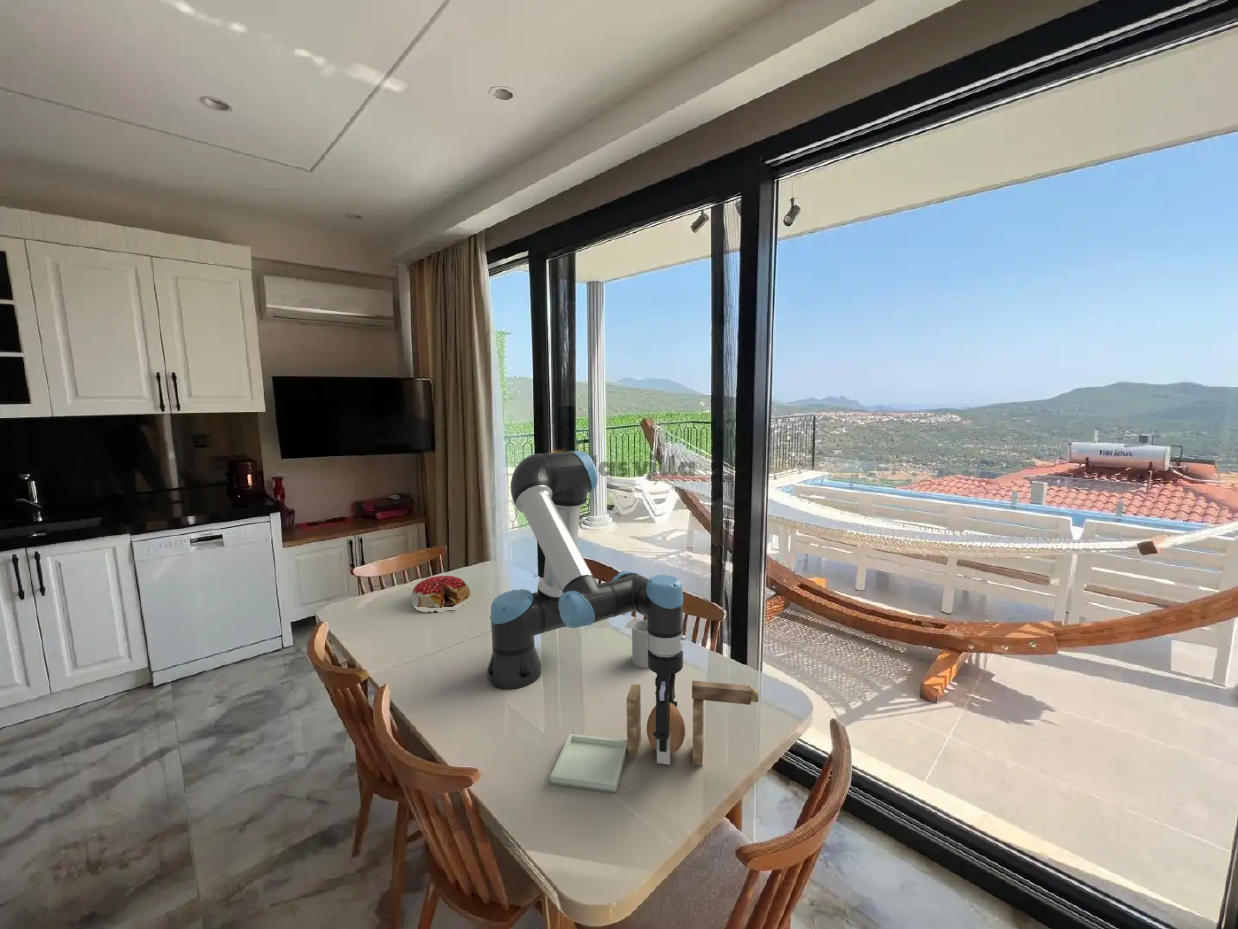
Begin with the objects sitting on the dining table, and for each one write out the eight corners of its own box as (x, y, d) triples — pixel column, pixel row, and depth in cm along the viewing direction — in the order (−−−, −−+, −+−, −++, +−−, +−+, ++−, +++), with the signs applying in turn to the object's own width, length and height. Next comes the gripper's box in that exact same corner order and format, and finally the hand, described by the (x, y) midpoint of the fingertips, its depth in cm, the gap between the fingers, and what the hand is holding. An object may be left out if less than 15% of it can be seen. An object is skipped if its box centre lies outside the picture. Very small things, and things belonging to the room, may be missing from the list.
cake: (446, 620, 181) (444, 593, 180) (398, 608, 192) (396, 583, 191) (489, 597, 202) (488, 573, 201) (444, 588, 213) (442, 565, 212)
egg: (691, 760, 107) (691, 711, 106) (654, 769, 105) (654, 718, 104) (676, 736, 115) (675, 689, 114) (641, 743, 113) (641, 696, 112)
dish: (550, 784, 101) (550, 776, 101) (570, 741, 114) (570, 733, 114) (615, 793, 99) (615, 785, 98) (628, 748, 112) (628, 740, 111)
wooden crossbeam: (691, 699, 106) (691, 686, 106) (692, 693, 109) (692, 680, 108) (758, 706, 104) (758, 692, 103) (757, 699, 106) (757, 686, 106)
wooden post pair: (627, 756, 109) (626, 699, 107) (632, 738, 115) (631, 684, 113) (702, 766, 106) (702, 707, 104) (703, 747, 112) (703, 690, 110)
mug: (643, 672, 143) (642, 635, 142) (626, 659, 150) (626, 624, 149) (676, 659, 150) (676, 624, 149) (658, 648, 157) (658, 614, 156)
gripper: (678, 677, 96) (679, 786, 99) (686, 629, 117) (686, 720, 120) (639, 673, 98) (641, 781, 101) (654, 627, 118) (655, 717, 121)
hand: (666, 748), depth 110 cm, fingers closed on egg, 8 cm apart
